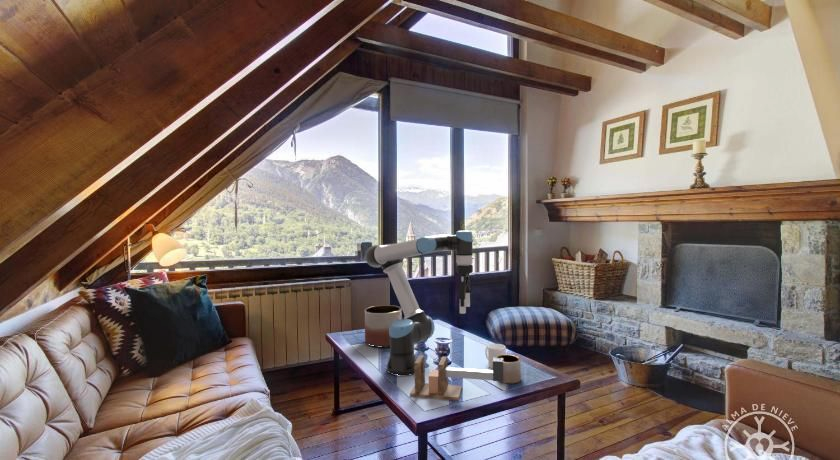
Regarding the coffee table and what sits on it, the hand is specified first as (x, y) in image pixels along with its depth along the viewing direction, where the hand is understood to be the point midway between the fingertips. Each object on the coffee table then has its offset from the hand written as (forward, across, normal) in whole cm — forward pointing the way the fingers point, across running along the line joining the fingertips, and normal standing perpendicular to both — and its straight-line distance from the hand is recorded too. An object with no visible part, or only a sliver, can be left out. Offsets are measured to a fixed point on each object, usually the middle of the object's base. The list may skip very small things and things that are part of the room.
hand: (465, 309), depth 183 cm
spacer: (+29, -22, +9) cm, 37 cm away
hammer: (+22, -22, -6) cm, 32 cm away
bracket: (+30, -22, +9) cm, 38 cm away
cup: (+30, +12, -12) cm, 35 cm away
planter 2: (+30, -2, -20) cm, 36 cm away
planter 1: (+31, +37, +54) cm, 73 cm away
